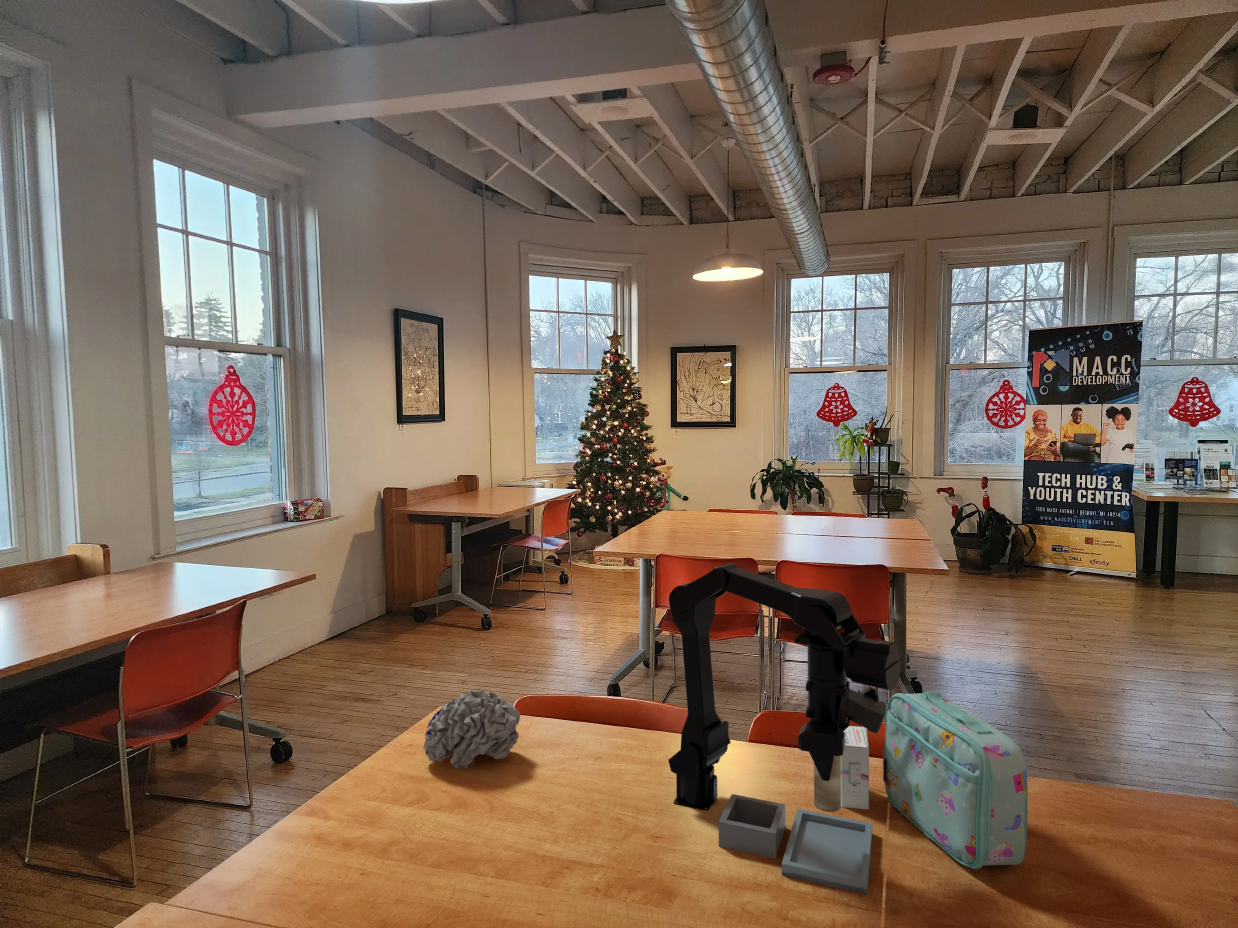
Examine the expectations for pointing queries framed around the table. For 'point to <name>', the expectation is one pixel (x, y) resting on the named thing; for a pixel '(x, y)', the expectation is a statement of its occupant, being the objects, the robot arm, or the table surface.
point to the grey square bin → (752, 826)
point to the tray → (829, 851)
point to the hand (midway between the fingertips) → (827, 773)
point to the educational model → (472, 729)
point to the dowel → (828, 788)
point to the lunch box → (956, 779)
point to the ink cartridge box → (855, 769)
